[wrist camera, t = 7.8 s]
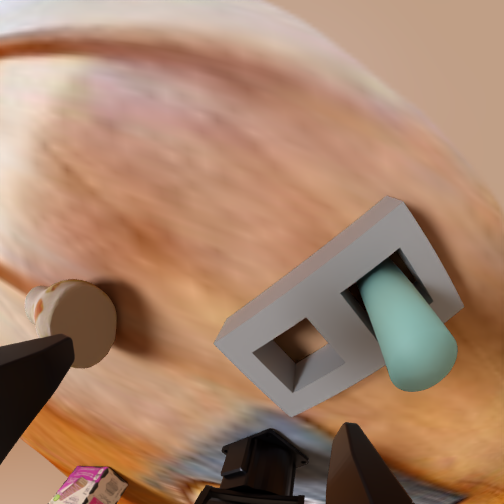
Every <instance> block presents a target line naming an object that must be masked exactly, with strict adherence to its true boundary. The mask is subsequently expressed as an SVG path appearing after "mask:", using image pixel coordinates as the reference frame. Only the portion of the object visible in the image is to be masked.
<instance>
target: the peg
mask: <svg viewBox="0 0 504 504" xmlns="http://www.w3.org/2000/svg"><path fill="white" fill-rule="evenodd" d="M356 284H357V286H358V289H359V292H360V294H361V297H362V299H363V302H364V305H365V307H366V310H367V312H368V315H369V318H370V321H371V323H372V326H373V329H374V332H375V334H376V337H377V340H378V343H379V346H380V349H381V352H382V355H383V358H384V361H385V364H386V367H387V370H388V373H389V376H390V379H391V381H392V383H393V384H394V385H395V386H396V387H397V388H399V389H401V390H404V391H408V392H416V391H421V390H425V389H428V388H430V387H432V386H434V385H435V384H437V383H438V382H440V381H441V380H442V379H443V378H444V377H445V376H446V375H447V374H448V373H449V372H450V370H451V369H452V367H453V365H454V363H455V361H456V358H457V352H458V349H457V343H456V341H455V339H454V337H453V336H452V335H451V333H450V332H449V330H448V329H447V328H446V326H445V325H444V324H443V322H442V321H441V320H440V318H439V317H438V316H437V315H436V313H435V312H434V311H433V309H432V308H431V307H430V306H429V304H428V303H427V302H426V300H425V299H424V298H423V297H422V295H421V294H420V293H419V292H418V291H417V289H416V288H415V287H414V286H413V284H412V283H411V282H410V281H409V280H408V278H407V277H406V276H405V275H404V274H403V272H402V271H401V270H400V269H399V268H398V267H397V265H396V264H395V263H394V262H393V261H392V260H391V259H390V258H388V257H387V258H386V259H385V260H384V261H382V262H381V263H380V264H378V265H377V266H376V267H374V268H373V269H372V270H371V271H369V272H368V273H367V274H365V275H364V276H363V277H361V278H360V279H359V280H357V281H356Z"/></svg>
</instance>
